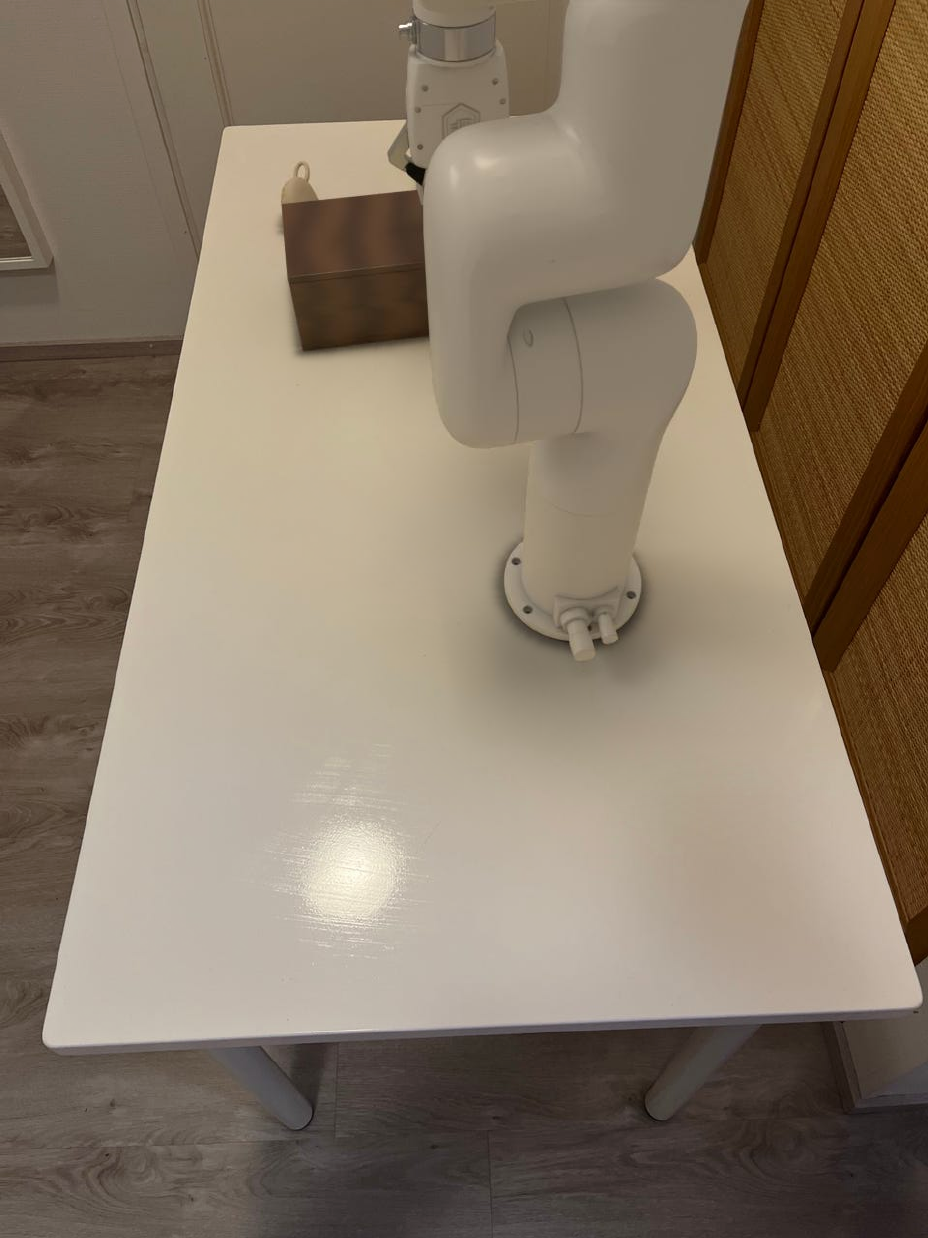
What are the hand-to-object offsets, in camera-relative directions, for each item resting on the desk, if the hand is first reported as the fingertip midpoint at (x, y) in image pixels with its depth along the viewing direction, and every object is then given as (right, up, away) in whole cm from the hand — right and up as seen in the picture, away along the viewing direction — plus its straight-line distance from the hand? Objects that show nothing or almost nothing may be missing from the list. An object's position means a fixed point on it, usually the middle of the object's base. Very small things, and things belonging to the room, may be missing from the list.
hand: (459, 214), depth 96 cm
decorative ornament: (-20, +8, +18) cm, 28 cm away
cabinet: (-11, -7, +8) cm, 15 cm away
